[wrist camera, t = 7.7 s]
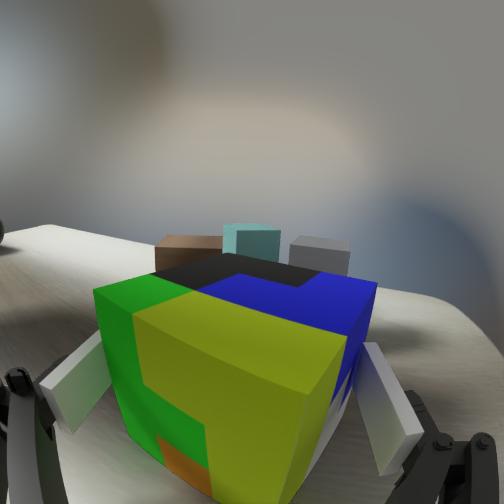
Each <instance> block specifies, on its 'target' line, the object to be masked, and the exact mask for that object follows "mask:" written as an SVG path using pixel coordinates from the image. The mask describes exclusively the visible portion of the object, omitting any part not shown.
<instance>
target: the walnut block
mask: <svg viewBox="0 0 504 504" xmlns="http://www.w3.org/2000/svg"><path fill="white" fill-rule="evenodd" d="M222 239H223V238H222V236H187V235H167V236H166V237H165V238H164V239H163V240H162V241H161V242H160V243H158V244H157V245H156V246H155V269H156V272H157V271H161V270H165V269H168V268H172V267H176V266H179V265H183V264H187V263H190V262H194V261H198V260H201V259H205V258H209V257H212V256H216V255H220V254H222Z"/></svg>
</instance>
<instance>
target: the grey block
mask: <svg viewBox="0 0 504 504" xmlns="http://www.w3.org/2000/svg"><path fill="white" fill-rule="evenodd" d="M349 258H350V241H341V240H333V239H326V238H316V237H308V236H299V237H298V238H297V239H296V240H295V241H293V242H292V243H291V244H290V253H289V264H288V265H292V266H297V267H302V268H307V269H312V270H317V271H322V272H326V273H331V274H336V275H341V276H346V277H347V273H348V265H349Z"/></svg>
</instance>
